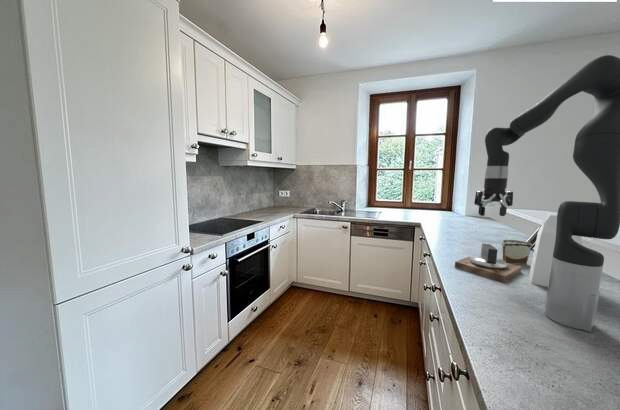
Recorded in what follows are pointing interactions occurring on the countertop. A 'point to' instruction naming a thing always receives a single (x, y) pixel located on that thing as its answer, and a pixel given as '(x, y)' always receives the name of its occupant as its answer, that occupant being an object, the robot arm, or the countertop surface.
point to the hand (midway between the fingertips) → (491, 215)
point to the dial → (488, 258)
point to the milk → (545, 251)
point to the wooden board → (489, 270)
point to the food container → (516, 251)
